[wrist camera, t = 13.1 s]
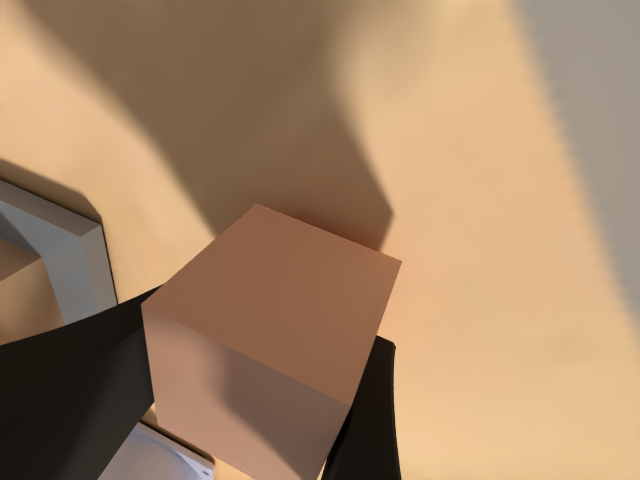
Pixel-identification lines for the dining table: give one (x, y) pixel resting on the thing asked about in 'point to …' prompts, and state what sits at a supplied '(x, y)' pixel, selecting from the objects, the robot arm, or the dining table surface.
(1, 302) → the walnut brick
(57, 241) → the base plate
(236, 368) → the pinkish tan block
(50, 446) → the robot arm
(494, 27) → the dining table surface
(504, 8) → the dining table surface
